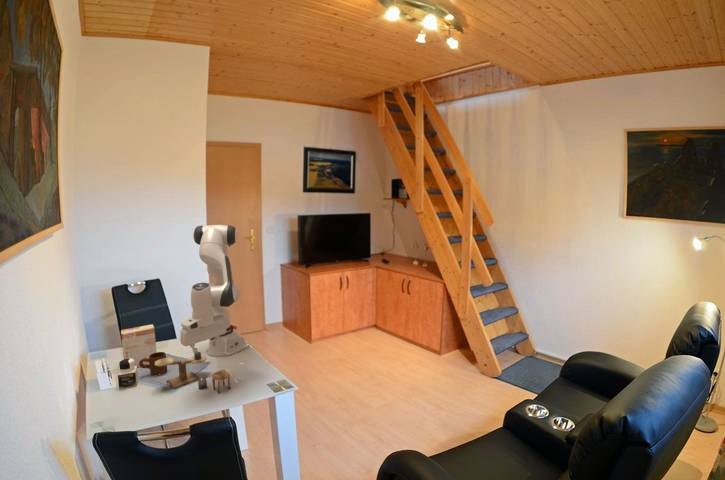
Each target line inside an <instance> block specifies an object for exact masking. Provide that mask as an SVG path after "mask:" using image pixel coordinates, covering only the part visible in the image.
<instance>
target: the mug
mask: <svg viewBox="0 0 725 480" xmlns="http://www.w3.org/2000/svg"><path fill="white" fill-rule="evenodd" d="M162 358H167V354H166V352H164V351H158V352H157V353H153V354H151V355H150V356H149V358H143V359H141V360H140V362H139V365H140V367H139V368H142V369H149V372H150V375H151V376H153V375H159V374H162V375H164V374H163V373H165V372H166V371H168V365H167V366H155V362H156V361H157V360H159V359H162ZM144 361H145V362H149V364H150V365H148V364H147V365H144V364H143V362H144ZM166 373H167V372H166ZM166 373H165V374H166ZM159 376H160V375H159Z"/></svg>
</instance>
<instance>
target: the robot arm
mask: <svg viewBox="0 0 725 480" xmlns="http://www.w3.org/2000/svg"><path fill="white" fill-rule="evenodd" d="M192 235H193V236H192V237H193V240H194V243H195V244H196V245H197V246H198V245H199V249H198V252H199V253H198V255H199V259H200V260H201V261H202V263H204V264H206V271H207V273H208V275H210V276H212V277H213V278H214V279H215V281H216V282H197V283H195V284H193V285H192V286H191V290H190V291H191V292H190V304H191V308H192V312H191V316H190V317H188V318H187V319H185V320H184V321H182V322H181V327H182V328H181V330H180V338H179V339H180V344H181V345H182V346H184V347H190V348H191V350H192V352H193V354H194V353H197V352H199V351H198V350H199V348H197V347H195V346H196V344H198V343H201V342H204V341H207V340H209V344H208V350H207V355H209V356H212V357H223V356H225V357H226V356H227V357H230V356H232V355H235V354H236V353H239V352H241V351H243V350H245V349H247V348H249V347H250V344H249V342H247V341H245V340H246V339H245V337H244V335H242V334H241V333H239V332H238V331H235V330H237V329H238V326H237V325H233V324H231V316H230V315H231V314H230V312H229V310H228V309H227V308H229V307H231V306H232V305H233V304H234V303H236V302H238V301H239V300H240V299H241V296H242V289H241V287H240V286H239V285H238V284H237V283H236V282H235V281H234V280H233V275H232V273H233V272H232V267H231V263H230V262H231V261H230V258H229V248H230V247H231V246H233V245H235V243H237V239H238V230H237V229H236V227H235V226H234V225H231V224H230V225H225V224H211V225H207V224H206V225H197V226H196V227H195V228H194V230H193V234H192ZM247 344H248V345H247Z"/></svg>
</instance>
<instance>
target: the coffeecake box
mask: <svg viewBox="0 0 725 480" xmlns="http://www.w3.org/2000/svg"><path fill="white" fill-rule="evenodd" d="M155 331H156V330H155V326H154V324H147V325H142V326H136V327H131V328H125V329H121V330H120V336H121V346H122V355H123V360H124V359H128V358H131V359H134V364H135V366H137V369H138V368H141V367H140V365H139V362H140V360H141V359H143V358H149V356H150V355H151V354H153V353H157V343H156V342H157V341H156V332H155ZM143 364H144V365H147V364H148V365H150V364H149V362H145V361H144V362H143Z"/></svg>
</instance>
